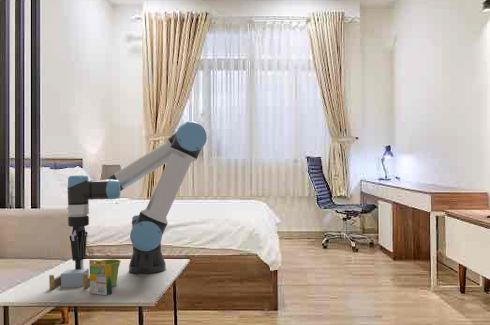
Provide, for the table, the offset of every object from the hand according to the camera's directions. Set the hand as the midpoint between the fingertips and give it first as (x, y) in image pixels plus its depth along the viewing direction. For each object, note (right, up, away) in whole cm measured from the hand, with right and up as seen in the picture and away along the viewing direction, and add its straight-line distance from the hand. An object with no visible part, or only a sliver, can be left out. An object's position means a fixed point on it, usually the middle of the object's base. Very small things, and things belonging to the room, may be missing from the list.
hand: (79, 277), depth 188 cm
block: (0, -2, -5) cm, 5 cm away
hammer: (0, -2, -5) cm, 6 cm away
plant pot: (+13, -1, -8) cm, 16 cm away
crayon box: (+14, -1, -20) cm, 25 cm away
